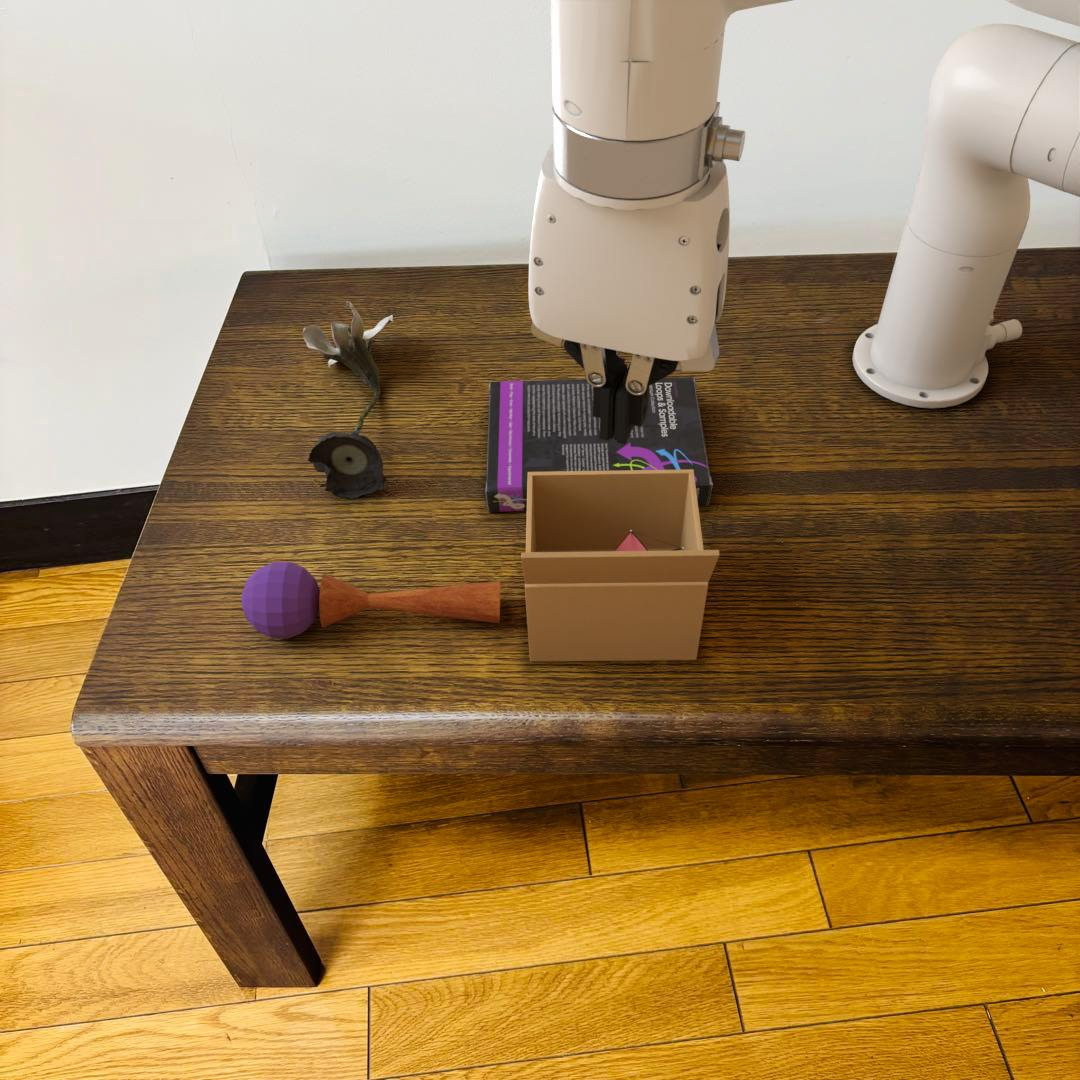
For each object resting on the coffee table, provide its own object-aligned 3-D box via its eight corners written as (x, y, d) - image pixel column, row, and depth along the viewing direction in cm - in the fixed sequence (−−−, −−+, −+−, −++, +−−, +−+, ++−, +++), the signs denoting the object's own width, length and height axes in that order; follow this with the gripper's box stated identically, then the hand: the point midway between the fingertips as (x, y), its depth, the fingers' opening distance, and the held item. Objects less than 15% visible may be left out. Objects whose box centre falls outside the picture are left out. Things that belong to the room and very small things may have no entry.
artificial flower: (304, 511, 90) (250, 424, 83) (350, 372, 106) (309, 291, 100) (395, 492, 88) (347, 401, 81) (428, 353, 104) (390, 268, 98)
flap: (719, 549, 64) (719, 555, 64) (708, 576, 69) (708, 582, 69) (521, 552, 64) (521, 558, 64) (525, 578, 69) (525, 584, 69)
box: (487, 517, 87) (710, 509, 87) (483, 490, 85) (714, 482, 84) (492, 408, 96) (695, 400, 96) (488, 380, 94) (697, 372, 93)
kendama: (500, 620, 75) (229, 617, 74) (498, 652, 80) (245, 650, 79) (500, 550, 78) (240, 547, 77) (499, 585, 83) (255, 583, 82)
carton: (684, 547, 84) (693, 469, 77) (696, 660, 77) (708, 585, 69) (532, 549, 84) (527, 471, 77) (530, 661, 77) (524, 587, 70)
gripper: (805, 125, 48) (753, 412, 61) (511, 85, 51) (525, 365, 65) (775, 206, 43) (726, 497, 57) (455, 156, 47) (483, 441, 60)
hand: (619, 426), depth 61 cm, fingers closed
